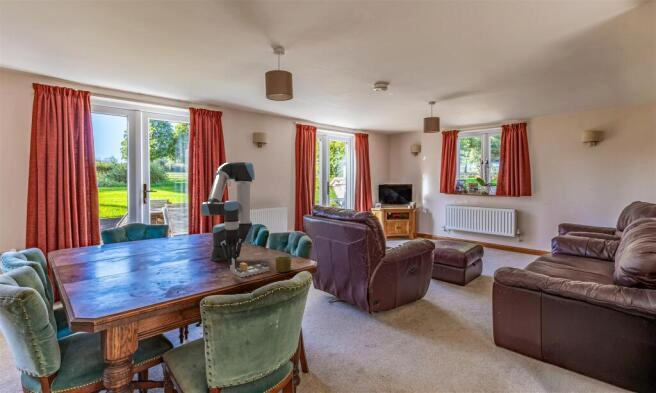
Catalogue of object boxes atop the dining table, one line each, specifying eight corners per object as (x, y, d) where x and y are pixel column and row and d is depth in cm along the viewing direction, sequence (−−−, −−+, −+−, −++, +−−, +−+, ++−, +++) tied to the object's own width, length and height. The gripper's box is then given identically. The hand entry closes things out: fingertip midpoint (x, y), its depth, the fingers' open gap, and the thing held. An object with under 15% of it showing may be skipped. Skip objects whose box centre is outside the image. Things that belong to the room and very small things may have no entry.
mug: (290, 271, 184) (286, 254, 186) (274, 275, 186) (270, 258, 188) (298, 269, 196) (294, 253, 197) (282, 273, 198) (279, 257, 200)
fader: (239, 269, 185) (239, 263, 184) (243, 268, 186) (243, 262, 186) (243, 271, 182) (243, 264, 181) (247, 270, 183) (247, 263, 183)
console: (233, 273, 185) (233, 267, 185) (260, 267, 197) (260, 261, 197) (241, 277, 178) (241, 271, 178) (269, 270, 190) (269, 265, 190)
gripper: (223, 231, 170) (224, 274, 172) (245, 228, 179) (246, 269, 181) (217, 229, 175) (218, 271, 177) (239, 226, 184) (239, 266, 186)
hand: (232, 270), depth 179 cm, fingers closed
